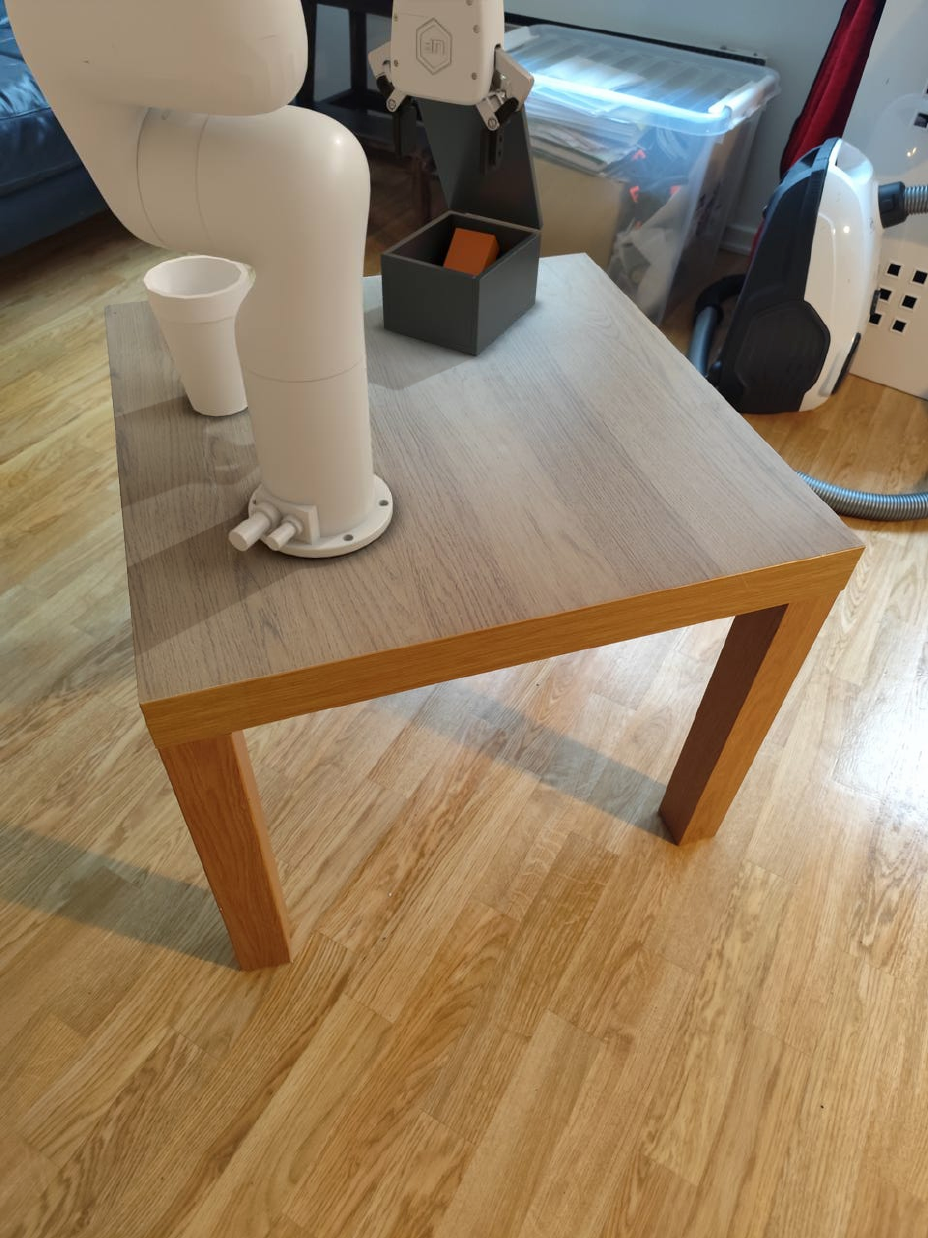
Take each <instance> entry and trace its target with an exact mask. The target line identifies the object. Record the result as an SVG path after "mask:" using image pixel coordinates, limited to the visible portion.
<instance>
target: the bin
mask: <svg viewBox="0 0 928 1238" xmlns="http://www.w3.org/2000/svg"><path fill="white" fill-rule="evenodd" d="M456 228H460V229H465V230H470V231H475V232H480V233H485V234H490V235H494V236H495V238H496V240H497V243H498V246H499V248H500V250H499V253H498V255H497V258H496V261H495V262H494V263H493V264H492V265H490V266H489V267H488V268H486V269H485V270H484V271H482V272H481V273H480V274H478V275H477V276H475V275H471V274H468V273H464V272H460V271H456V270H452V269H449V268H445V267H443V265H444V262H445V259H446V256H447V254H448V251H449V248H450V245H451V242H452V239H453V236H454V234H455V231H456ZM542 235H543V233H542V232H541V231H539V230H535V229H530V228H526V227H522V226H518V225H514V224H509V223H505V222H501V221H497V220H492V219H488V218H484V217H480V216H475V215H471V214H467V213H463V212H459V211H455V210H448V211H446V212H445V213H443V214H441V215H440V216H438V217H437V218H435V219H434V220H432V221H430V222H429V223H427V224H426V225H424V226H423V227H421V228H419V229H418V230H416V231H414V232H413V233H411V234H409V235H408V236H406V237H405V238H403V239H401V240H400V241H399V242H397V243H395V244H393V245H392V246H390V247H389V248H387V249H386V250H384V251H382V252H381V253H380V277H381V300H382V321H383V322H382V323H383V329H384V330H387V331H391V332H393V333H397V334H401V335H404V336H408V337H410V338H415V339H417V340H421V341H425V342H427V343H431V344H435V345H437V346H441V347H445V348H447V349H451V350H454V351H458V352H462V353H465V354H468V355H471V356H475V357H477V356H478V355H479V354H481V353H482V352H483V351H484V350H485V349H486V348H488V346H490V345H491V344H492V343H493V342H495V340H497V338H499V337H500V336H501V335H502V334H503V333H504V332H506V330H508V329H509V328H510V327H512V325H514V323H516V322H517V321H518V320H519V319H520V318H522V316H523V315H525V314H526V313H527V312H528V311H529V310H530V309H532V307H534V306H535V305H536V298H537V287H538V278H539V277H538V276H539V267H540V266H539V265H540V254H541V243H542Z"/></svg>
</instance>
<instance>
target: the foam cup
mask: <svg viewBox="0 0 928 1238" xmlns="http://www.w3.org/2000/svg"><path fill="white" fill-rule="evenodd" d="M250 281H251V280H250V275H249V271H248V270H247V268H246V267H245V266H244V264H243V263H239V262H234V261H230V260H228V259H223V258H217V257H211V256H205V255H200V254H198V255H186V256H180V257H176V258H173V259H169V260H166V261H162V262H160V263H159V264H157V265H155V266H154V267H152V268H150V269H148V271H147V272H146V274H145V276H144V277H143V279H142V282H143V286H144V290H145V293H146V298H147V301H148V305H149V307H150V309H151V310H152V312H153V314H154V315H155V317H156V320H157V323H158V325H159V327H160V330H161V332H162V334H163V337H164V340H165V342H166V345H167V347H168V350H169V353H170V355H171V357H172V361H173V362H174V365H175V367H176V371H177V373H178V375H179V377H180V381H181V382H182V383H181V384H182V385H183V388H184V390H185V393H186V396H187V398H188V400H189V402H190V404H191V406H192V408H193V410H194V411H196V412H197V413H200V414H202V415H204V416H212V417H224V416H232V415H233V414H236V413H240V412H241V411H244V410H245V409H247V408H248V405H247V400H246V394H245V389H244V384H243V378H242V373H241V367H240V362H239V358H238V354H237V349H236V343H235V334H234V324H235V318H236V314H237V311H238V308H239V306H240V304H241V302H242V301H243V299H244V298H245V296H246V295H247V293H248V292H249V290H250V289H251V287H252V286H251V282H250Z"/></svg>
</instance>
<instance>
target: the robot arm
mask: <svg viewBox="0 0 928 1238" xmlns="http://www.w3.org/2000/svg"><path fill="white" fill-rule="evenodd" d="M4 5H5V11H6V15H7V18H8V22H9V24H10V27H11V30H12V33H13V36H14V39H15V42H16V44H17V47H18V49H19V51H20V53H21V55H22V58H23V60H24V62H25V64H26V66H27V68H28V70H29V71H30V73H31V75H32V77H33V79H34V81H35V82H36V84H37V86H38V88H39V90H40V91H41V93H42V95H43V96H44V98H45V100H46V102H47V104H48V106H49V108H50V109H51V111H52V112H53V114H54V115H55V117H56V118H57V120H58V122H59V124H60V126H61V127H62V129H63V131H64V133H65V135H66V136H67V138H68V140H69V141H70V143H71V145H72V147H73V148H74V150H75V152H76V154H77V155H78V156H79V158H80V160H81V162H82V164H83V165H84V167H85V169H86V170H87V172H88V174H89V176H90V177H91V179H92V181H93V182H94V184H95V186H96V188H97V189H98V190H99V193H100V194H101V196H102V197H103V199H104V200H105V202H106V204H107V206H108V207H109V208H110V210H111V211H112V212H113V214H114V216H115V217H116V218H117V220H119V222H120V223H121V224H122V225H123V226H124V227H125V228H126V230H128V231H129V232H130V233H131V234H132V235H134V236H135V237H137V238H138V239H140V240H142V241H143V242H145V243H148V244H149V245H152V246H156V247H158V248H163V249H167V250H171V251H176V252H182V253H183V252H184V253H188V254H195V255H205V256H211V257H217V258H223V259H228V260H230V261H234V262H239V263H242V265H247V266H249V267H250V268H252V269H253V271H254V275H255V278H254V282H253V284H252V285H251V286H250V287H251V289H250V290H249V292H248V293H247V295H246V296H245V298H244V299H243V301H242V302H241V304H240V306H239V308H238V311H237V314H236V318H235V324H234V334H235V343H236V349H237V354H238V358H239V362H240V367H241V373H242V378H243V384H244V389H245V394H246V400H247V405H248V406H247V411H248V416H249V421H250V428H251V432H252V438H253V443H254V448H255V453H256V454H255V455H256V459H257V460H256V461H257V464H258V472H259V475H260V481H261V483H260V484H259V485H258V486H257V488H256V489H255V490H254V491H253V493H252V495H251V497H250V499H249V502H248V506H247V511H248V518H247V519H245V520H243V521H242V522H240V523H239V524H238V525H236V527H234V528H233V529H232V530H230V531H229V533H228V540H229V542H230V543H231V545H232V546H233V547H234V548H235V549H237V550H238V551H240V552H246V551H248V549H250V548H251V547H252V546H253V545H254V544H255V543H256V542H258V541H259V540H260V541H261V542H263V543H264V544H265V545H267V546H268V548H269V549H271V550H272V551H275V552H278V551H279V552H280V553H283V554H286V555H291V556H295V557H300V558H311V559H312V558H314V559H317V558H331V557H336V556H342V555H346V554H348V553H352V552H355V551H357V550H359V549H361V548H363V547H366V546H369V544H370V543H372V542H374V541H375V540H376V539H378V538H379V537H380V536H381V535H382V534H383V533H384V532H385V531H386V530H387V528H388V526H389V524H390V523H391V520H392V516H393V515H394V514H393V513H394V507H393V506H394V505H393V504H394V503H393V502H394V501H393V496H392V493H391V490H390V489H389V486H388V485H387V484H386V482H385V481H384V480H383V479H382V478H381V477H379V476H378V475H377V474H376V473H374V463H373V446H372V444H373V443H372V430H371V414H370V413H371V411H370V398H369V397H370V396H369V383H368V381H369V379H368V367H367V366H368V363H367V349H366V339H365V338H366V335H365V318H364V316H365V315H364V266H365V251H366V242H367V241H366V240H367V231H368V223H369V213H370V202H371V173H370V168H369V162H368V158H367V156H366V153H365V151H364V149H363V147H362V145H361V143H360V142H359V140H358V139H357V137H356V136H355V135H354V134H353V133H352V132H351V131H350V130H349V129H348V128H347V127H346V126H345V125H343V124H342V123H340V122H339V121H337V120H336V119H334V118H332V117H331V116H328V115H327V114H323V113H322V112H318V111H315V110H312V109H309V108H305V107H301V106H295V105H289V104H290V103H291V102H292V101H293V99H295V97H296V96H297V94H298V93H299V92H300V90H301V88H302V87H303V84H304V82H305V78H306V74H307V70H308V59H309V58H308V57H309V55H308V54H309V53H308V52H309V46H308V45H309V44H308V34H307V33H308V32H307V27H306V21H305V16H304V10H303V6H302V2H301V0H4ZM367 60H368V62H369V65H370V68H371V71H372V74H373V76H374V78H375V79H376V81H375V82H376V83H375V84H376V87H377V89H378V90H379V92H380V93H381V95H382V96H383V98H384V99H385V101H386V108H387V109H388V111H389V112H392V113H391V114H392V115H391V116H392V117H391V118H392V142H393V145H394V156H395V158H398V159H401V158H404V157H407V156H409V155H411V154H413V153H415V152H416V151H417V110H416V106H412V103H413V101H414V100H415V99H416V97H421V98H426V99H432V100H437V101H443V102H448V103H454V104H461V105H474V104H475V105H476V106H477V108H478V110H479V112H480V114H481V116H482V118H483V119H484V121H485V123H486V128H484V129H482V131H481V138H480V160H479V173H480V174H481V175H485V176H487V175H489V174H490V173H492V172H494V171H496V170H498V168H499V165H500V164H501V162H502V159H503V148H504V132H505V125H506V124H508V123H509V122H510V120H511V119H512V118H513V117H514V116H515V115H516V114H517V113H518V112H519V111H520V110H521V109H522V107H523V105H525V102H526V100H527V98H528V96H529V94H530V93H531V91H532V89H533V87H534V85H535V77H534V75H532V73H531V72H529V71H528V70H527V69H526V68H524V66H522V65H521V64H520V63H519V62H517V60H515V59H514V58H513V57H512V56H511V55H510V54H509V53H508V52H506V51H505V9H504V0H393V2H392V15H391V32H390V40H389V41H387V42H385V43H384V44H382V45H380V46H378V47H377V48H375V49H373V50H371V51H370V52H369V53H368V55H367ZM503 78H506V79H507V80H509V81H510V82H511V84H512V91H511V93H510V96H509V98H508V99H507V100H506V101H505V102H503V100H502V98H501V96H500V94H499V93H500V91H501V88H502V83H503Z"/></svg>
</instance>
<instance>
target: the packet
mask: <svg viewBox="0 0 928 1238" xmlns="http://www.w3.org/2000/svg"><path fill="white" fill-rule="evenodd" d="M499 250H500V248H499V246H498V243H497V240H496V238H495V236H494V235H490V234H485V233H480V232H475V231H470V230H465V229H460V228H456V231H455V234H454V236H453V239H452V242H451V245H450V248H449V251H448V254H447V256H446V259H445V262H444V265H443V267H445V268H449V269H452V270H456V271H460V272H464V273H468V274H471V275H475V276H477V275H478V274H480V273H481V272H482V271H484V270H485V269H486V268H488V267H489V266H490V265H492V264H493V263H494V262H495V261H496V258H497V255H498V253H499Z"/></svg>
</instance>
